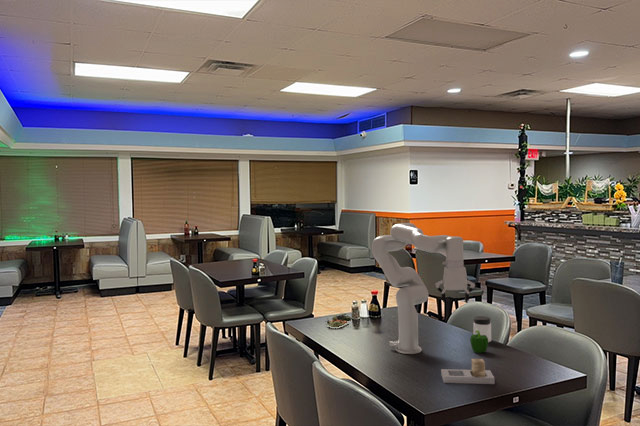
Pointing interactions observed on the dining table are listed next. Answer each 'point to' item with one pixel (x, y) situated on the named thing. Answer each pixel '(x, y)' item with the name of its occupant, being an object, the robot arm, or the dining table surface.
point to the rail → (466, 377)
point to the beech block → (478, 367)
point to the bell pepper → (479, 342)
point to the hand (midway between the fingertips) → (455, 302)
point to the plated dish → (339, 320)
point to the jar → (482, 326)
